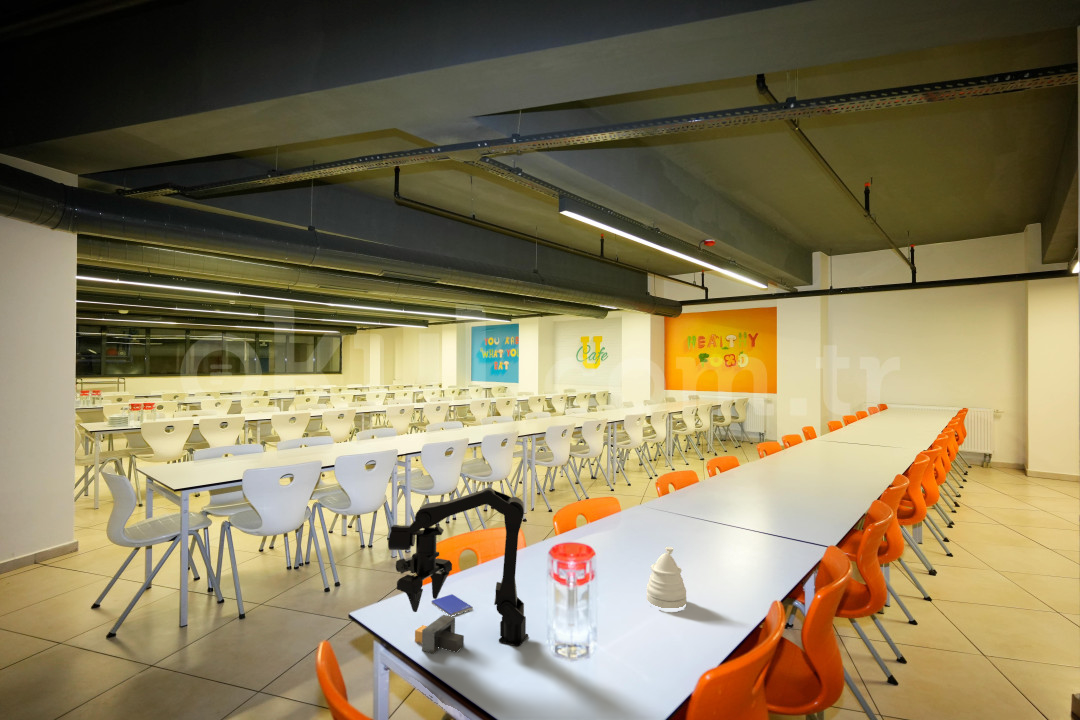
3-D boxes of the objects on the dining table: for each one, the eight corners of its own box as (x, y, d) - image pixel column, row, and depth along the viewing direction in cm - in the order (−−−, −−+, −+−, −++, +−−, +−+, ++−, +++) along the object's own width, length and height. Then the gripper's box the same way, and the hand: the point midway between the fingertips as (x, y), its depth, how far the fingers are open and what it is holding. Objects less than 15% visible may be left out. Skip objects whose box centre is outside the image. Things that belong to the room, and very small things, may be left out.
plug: (463, 646, 139) (463, 635, 139) (456, 652, 136) (456, 641, 136) (422, 635, 145) (422, 625, 145) (414, 641, 141) (415, 630, 142)
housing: (454, 636, 144) (455, 617, 144) (434, 653, 135) (434, 633, 135) (443, 633, 146) (443, 614, 146) (421, 650, 136) (422, 630, 137)
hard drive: (472, 606, 161) (452, 593, 171) (450, 613, 156) (431, 600, 165) (472, 611, 161) (452, 598, 171) (450, 618, 156) (431, 605, 165)
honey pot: (660, 592, 176) (659, 540, 177) (693, 604, 167) (693, 549, 167) (639, 603, 167) (639, 549, 168) (673, 616, 158) (673, 559, 158)
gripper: (423, 536, 155) (422, 587, 154) (381, 555, 138) (380, 613, 137) (453, 541, 151) (452, 594, 150) (414, 561, 133) (413, 621, 133)
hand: (425, 604), depth 143 cm, fingers open, 9 cm apart
